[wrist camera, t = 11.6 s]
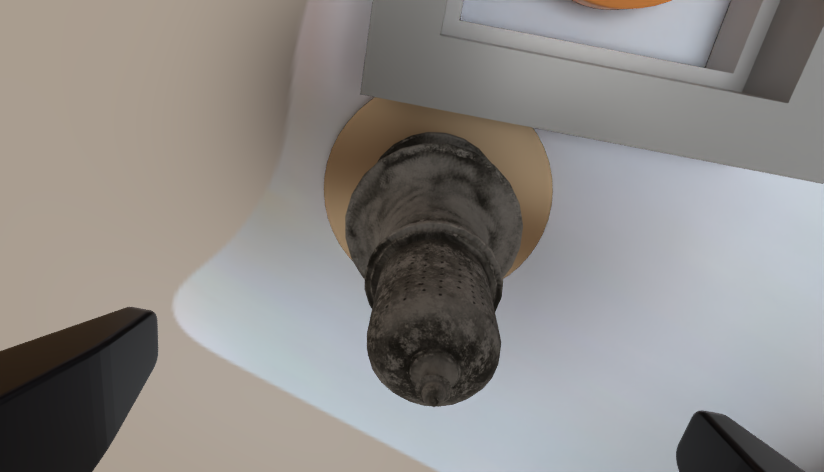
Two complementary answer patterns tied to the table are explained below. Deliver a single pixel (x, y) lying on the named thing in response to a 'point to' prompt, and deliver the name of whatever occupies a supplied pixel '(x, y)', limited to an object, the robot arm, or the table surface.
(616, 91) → the breaker guard
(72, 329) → the robot arm
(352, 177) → the coaster
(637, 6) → the button
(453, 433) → the table surface
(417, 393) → the salt shaker
